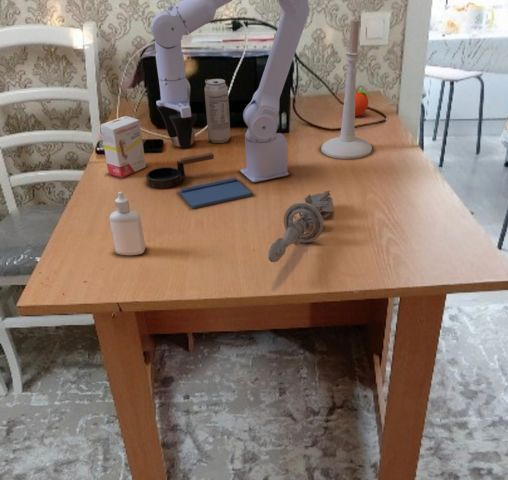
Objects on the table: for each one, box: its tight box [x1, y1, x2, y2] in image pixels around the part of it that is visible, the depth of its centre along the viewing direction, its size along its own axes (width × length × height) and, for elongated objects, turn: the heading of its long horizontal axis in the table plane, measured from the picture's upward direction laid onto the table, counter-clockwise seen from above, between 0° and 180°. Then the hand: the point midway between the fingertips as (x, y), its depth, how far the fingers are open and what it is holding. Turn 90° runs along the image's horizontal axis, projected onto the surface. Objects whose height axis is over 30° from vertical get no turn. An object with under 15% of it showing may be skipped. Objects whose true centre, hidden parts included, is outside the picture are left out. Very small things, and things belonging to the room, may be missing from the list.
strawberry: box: [355, 89, 373, 117], centre depth 171 cm, size 8×7×7 cm
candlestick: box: [321, 17, 373, 160], centre depth 143 cm, size 13×13×30 cm
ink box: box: [100, 115, 147, 179], centre depth 142 cm, size 9×5×12 cm, turn 143°
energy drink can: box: [204, 78, 231, 144], centre depth 156 cm, size 6×6×15 cm
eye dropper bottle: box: [108, 191, 146, 256], centre depth 110 cm, size 4×6×12 cm
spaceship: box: [267, 190, 334, 263], centre depth 112 cm, size 8×35×8 cm
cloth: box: [178, 177, 253, 209], centre depth 133 cm, size 14×9×1 cm, turn 114°
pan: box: [145, 152, 215, 190], centre depth 140 cm, size 16×8×4 cm, turn 114°
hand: (179, 141), depth 133 cm, fingers open, 7 cm apart
